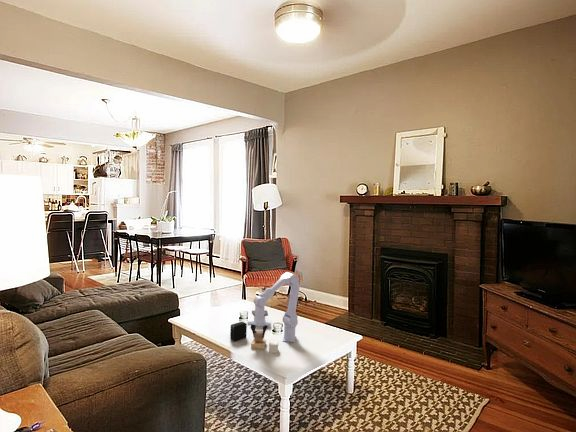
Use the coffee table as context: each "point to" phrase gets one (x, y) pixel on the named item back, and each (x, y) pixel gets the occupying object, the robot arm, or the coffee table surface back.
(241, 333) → the electronic device
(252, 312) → the oil diffuser
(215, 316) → the coffee table surface
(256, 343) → the oak base
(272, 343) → the grey cube
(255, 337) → the walnut cube
